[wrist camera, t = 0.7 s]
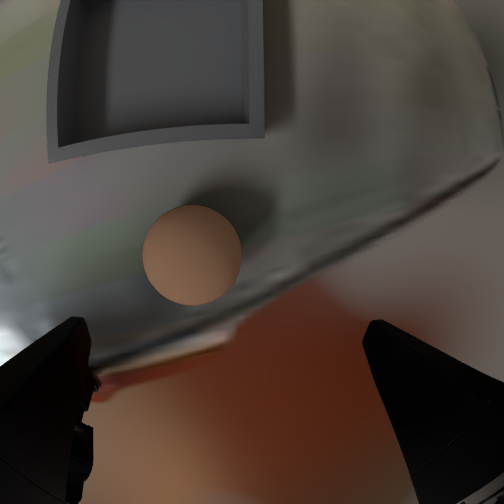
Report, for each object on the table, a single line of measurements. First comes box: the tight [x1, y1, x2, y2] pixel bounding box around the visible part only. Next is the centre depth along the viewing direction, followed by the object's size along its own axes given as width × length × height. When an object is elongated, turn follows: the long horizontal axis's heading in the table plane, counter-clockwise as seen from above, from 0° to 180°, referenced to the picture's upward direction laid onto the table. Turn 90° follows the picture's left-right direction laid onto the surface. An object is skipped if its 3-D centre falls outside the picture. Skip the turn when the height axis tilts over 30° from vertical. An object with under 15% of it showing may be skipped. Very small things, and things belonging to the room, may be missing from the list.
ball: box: [143, 205, 242, 305], centre depth 16 cm, size 6×6×6 cm
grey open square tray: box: [47, 0, 265, 164], centre depth 12 cm, size 13×13×4 cm
